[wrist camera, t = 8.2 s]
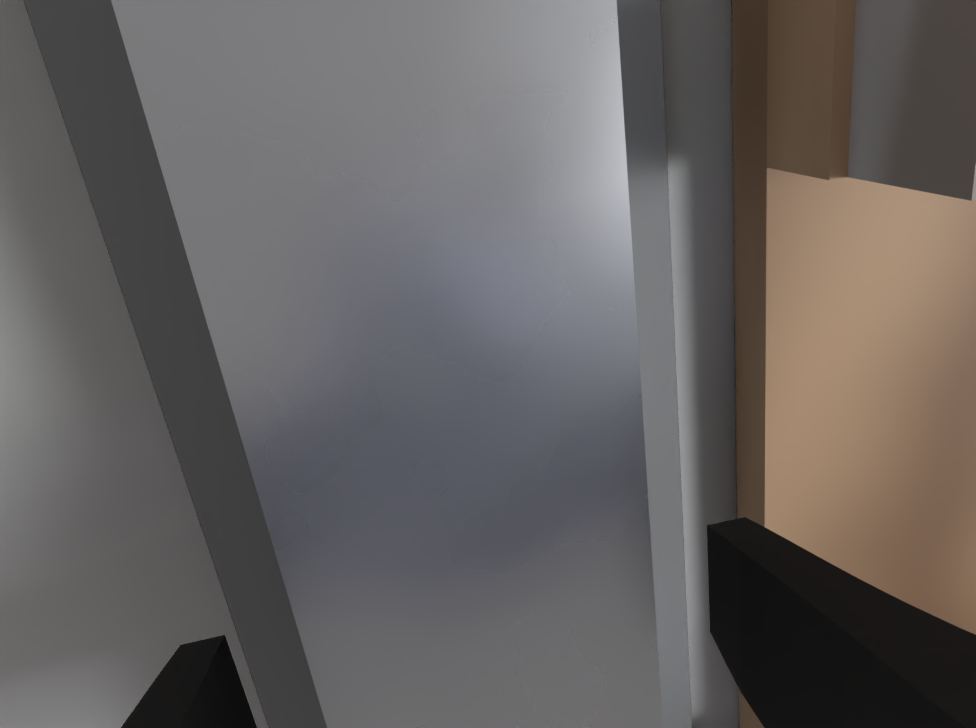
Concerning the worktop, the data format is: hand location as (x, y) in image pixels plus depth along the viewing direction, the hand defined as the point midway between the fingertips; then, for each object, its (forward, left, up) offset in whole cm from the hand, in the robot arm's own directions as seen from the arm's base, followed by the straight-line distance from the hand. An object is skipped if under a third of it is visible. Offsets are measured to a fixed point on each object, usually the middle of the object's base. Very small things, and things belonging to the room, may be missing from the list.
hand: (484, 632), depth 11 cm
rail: (0, 0, -2) cm, 2 cm away
